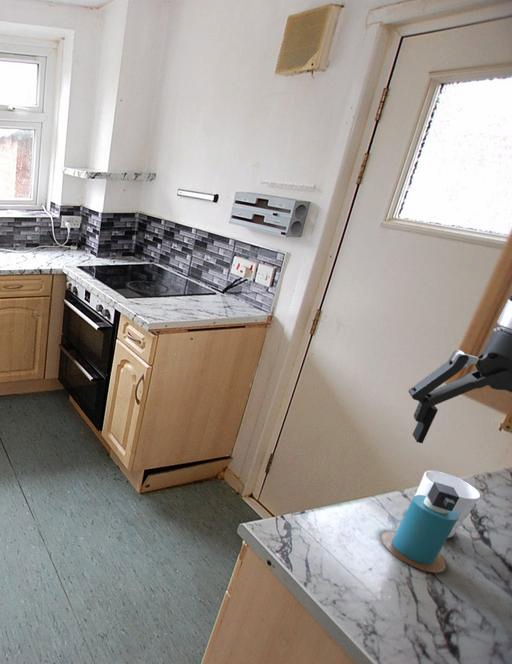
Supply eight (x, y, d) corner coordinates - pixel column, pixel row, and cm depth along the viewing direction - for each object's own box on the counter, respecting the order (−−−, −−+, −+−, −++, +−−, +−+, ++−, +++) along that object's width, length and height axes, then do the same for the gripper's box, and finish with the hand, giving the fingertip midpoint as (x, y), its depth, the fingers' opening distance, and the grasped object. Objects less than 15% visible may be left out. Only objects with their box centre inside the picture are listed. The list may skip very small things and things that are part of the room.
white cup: (406, 504, 95) (426, 465, 92) (457, 527, 90) (480, 486, 87) (402, 523, 90) (422, 481, 86) (455, 548, 85) (480, 505, 81)
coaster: (436, 546, 85) (436, 545, 85) (452, 581, 77) (453, 581, 77) (377, 525, 89) (377, 524, 89) (387, 557, 81) (387, 556, 81)
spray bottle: (388, 532, 87) (418, 471, 82) (428, 547, 84) (462, 484, 79) (396, 557, 81) (429, 493, 76) (440, 573, 78) (477, 508, 74)
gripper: (431, 321, 70) (381, 438, 78) (676, 364, 60) (591, 495, 67) (417, 309, 77) (372, 418, 84) (637, 346, 66) (563, 468, 73)
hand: (469, 453), depth 75 cm, fingers open, 13 cm apart
